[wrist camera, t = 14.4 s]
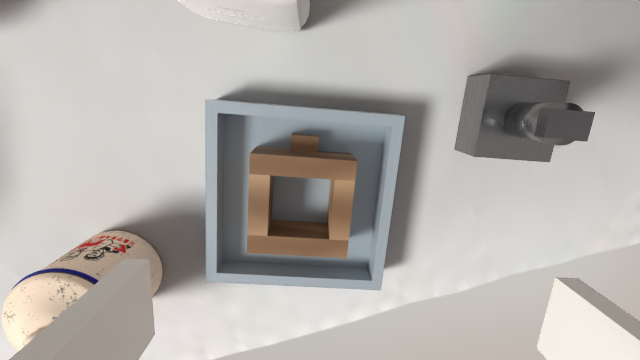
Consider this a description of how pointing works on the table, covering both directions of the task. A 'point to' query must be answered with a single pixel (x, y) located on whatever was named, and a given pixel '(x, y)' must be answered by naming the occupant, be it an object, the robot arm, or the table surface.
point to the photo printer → (254, 12)
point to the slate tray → (298, 192)
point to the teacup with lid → (70, 282)
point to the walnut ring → (300, 234)
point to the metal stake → (518, 118)
